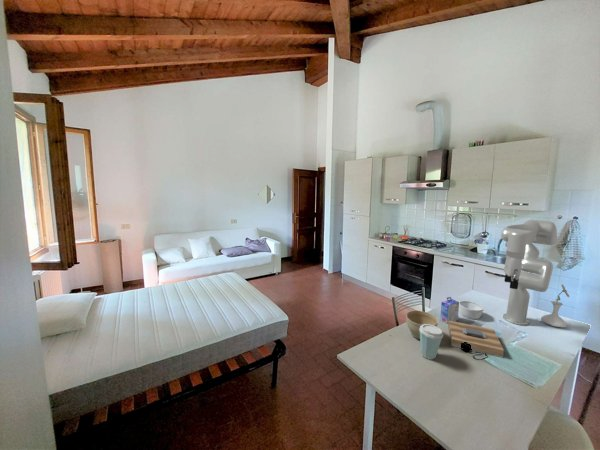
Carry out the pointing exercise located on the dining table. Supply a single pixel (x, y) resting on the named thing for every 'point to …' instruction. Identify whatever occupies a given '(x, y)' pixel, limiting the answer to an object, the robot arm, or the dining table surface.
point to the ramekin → (470, 309)
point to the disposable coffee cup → (430, 340)
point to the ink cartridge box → (449, 310)
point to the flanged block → (474, 333)
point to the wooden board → (475, 339)
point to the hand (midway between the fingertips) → (510, 285)
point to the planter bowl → (419, 321)
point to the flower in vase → (555, 313)
